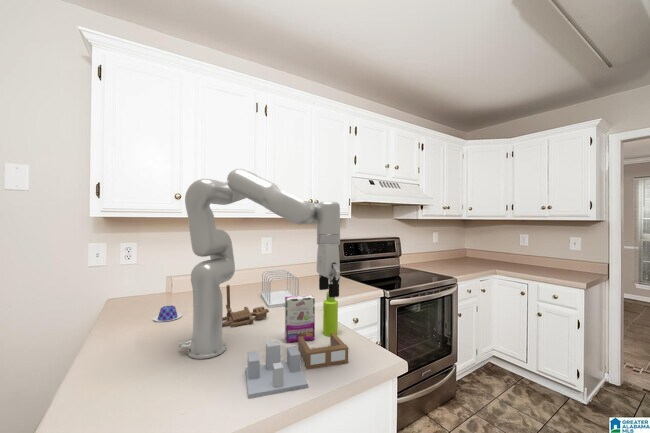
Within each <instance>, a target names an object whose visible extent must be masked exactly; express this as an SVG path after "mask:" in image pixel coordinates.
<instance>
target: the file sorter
mask: <svg viewBox="0 0 650 433" xmlns="http://www.w3.org/2000/svg"><path fill="white" fill-rule="evenodd" d="M277 279H286V290H278V291H271V283H272V281H273V280H277ZM291 279H292V280H291ZM291 282H292V283H291ZM299 282H300V281H299V278H298V277H297V276H296V275H293V273H291V272H290V271H288V270H286V269H276V270H275V269H273V270H265V271H263V272H262V274H261V293H260V297H261V299H262V300H263V302H264V304H265V305H266V307H267V309H270V308H272V309H273V308H280V307H285V297H290V296H300V295H299V294H300V288H299V286H300V285H299ZM291 285H292V286H291ZM296 291H297V292H296ZM296 293H297V294H296Z"/></svg>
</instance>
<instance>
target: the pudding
mask: <svg viewBox="0 0 650 433" xmlns="http://www.w3.org/2000/svg"><path fill="white" fill-rule="evenodd" d="M182 316H183V314H182V313H181V312H177V309H176V306H175V305H164V306H162V307H161V308H160V309H159V314H158V315H155V316H153V318H152V320H153V321H154V322H169V321H174V320H176V319H177V320H178V319H179V318H182Z"/></svg>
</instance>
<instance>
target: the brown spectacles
mask: <svg viewBox="0 0 650 433" xmlns="http://www.w3.org/2000/svg"><path fill="white" fill-rule="evenodd" d="M329 338H330V340H329V341H330V342H329V345H328V346H321V347H316V348H315V347H313V348H310V346H309V345H308V343H307V341H305V340H304V338H303V337H298V342H297V348H298V350H299V352H300V354H301V360H302V362H303V364H304V368H305V369H306V370H313V369H318V368H324V367H330V366H337V365H343V364H348V363H349V346H348V345H347V344H346V343H345V342H343V340H342V339H341V338H340V337H339V336H338V334H337V335H336V334H335V333H330V337H329Z"/></svg>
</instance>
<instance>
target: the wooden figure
mask: <svg viewBox="0 0 650 433" xmlns="http://www.w3.org/2000/svg"><path fill="white" fill-rule="evenodd" d="M225 307H226V316H224V317H223V316H222V327H224V326H229V325H230V328H236V327H238V326H241V325H242V326H243V325H245V324H250V325H253V324H254V319H255V320H259V319H264V318H266V317H267V316H268V315H267V313H269V312H270V310H269V308H265V307H264V306H259V307H258V306H257V307H254V308H253V309H252V312H251V311H250V310H249V308H248V306H244V308H243V310H239V311H238V310H237V311H232V307H231V287H230V284H227V285H226V304H225Z"/></svg>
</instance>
